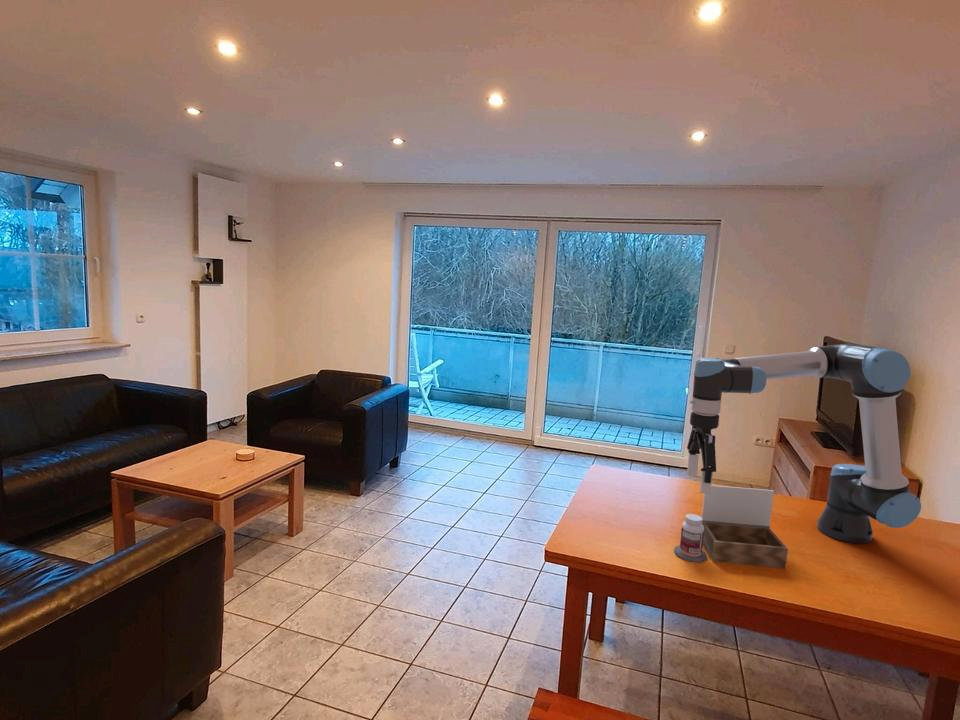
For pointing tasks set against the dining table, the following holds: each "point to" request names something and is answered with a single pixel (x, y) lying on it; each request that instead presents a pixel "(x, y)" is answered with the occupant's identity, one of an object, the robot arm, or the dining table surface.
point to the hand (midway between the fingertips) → (698, 484)
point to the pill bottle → (692, 536)
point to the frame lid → (738, 506)
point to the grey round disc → (689, 558)
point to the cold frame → (744, 545)
